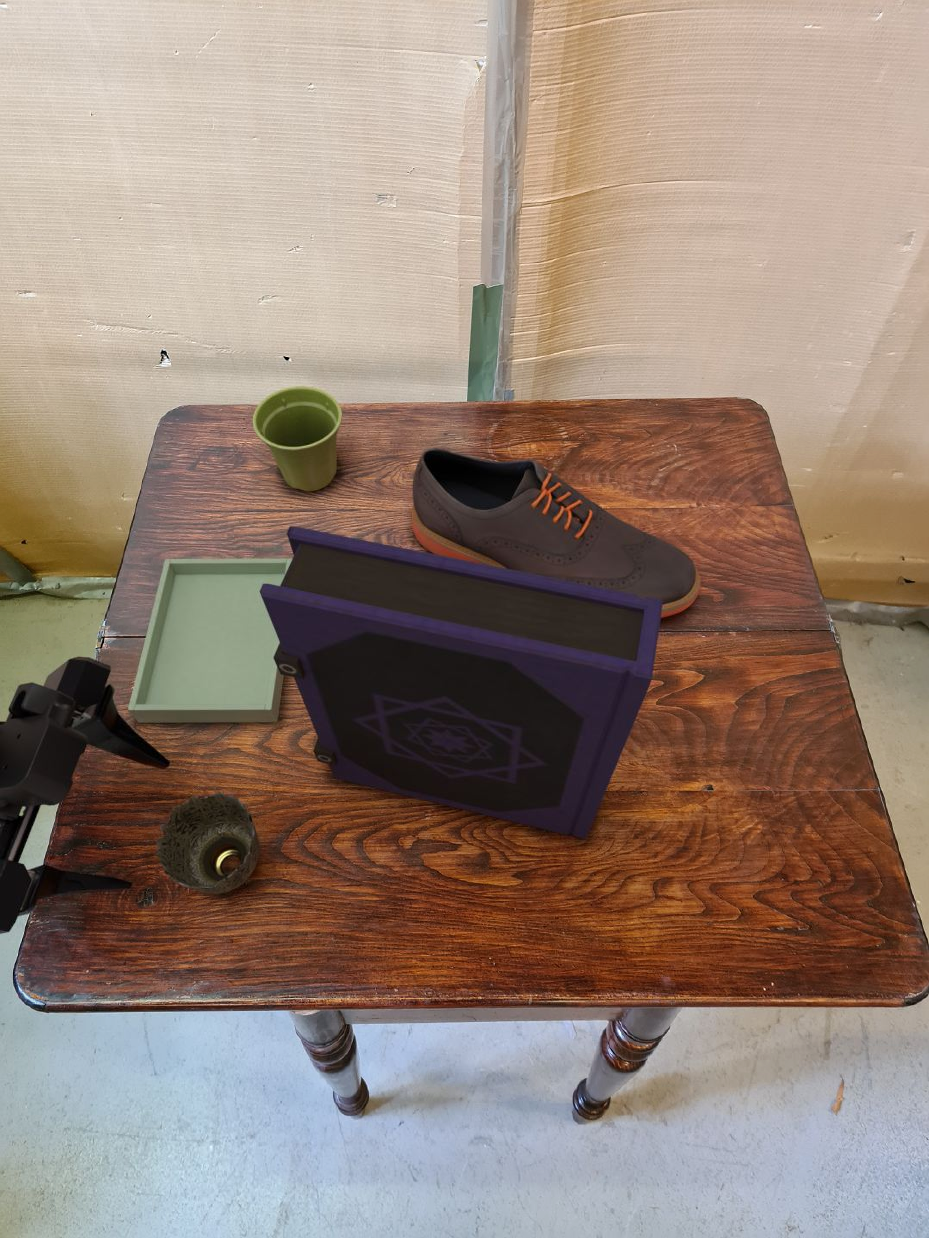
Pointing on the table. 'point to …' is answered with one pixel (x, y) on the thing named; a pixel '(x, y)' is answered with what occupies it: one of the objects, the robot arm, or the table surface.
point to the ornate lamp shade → (208, 843)
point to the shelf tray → (210, 644)
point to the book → (463, 676)
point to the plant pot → (301, 434)
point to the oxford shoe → (541, 529)
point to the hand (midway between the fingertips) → (149, 823)
